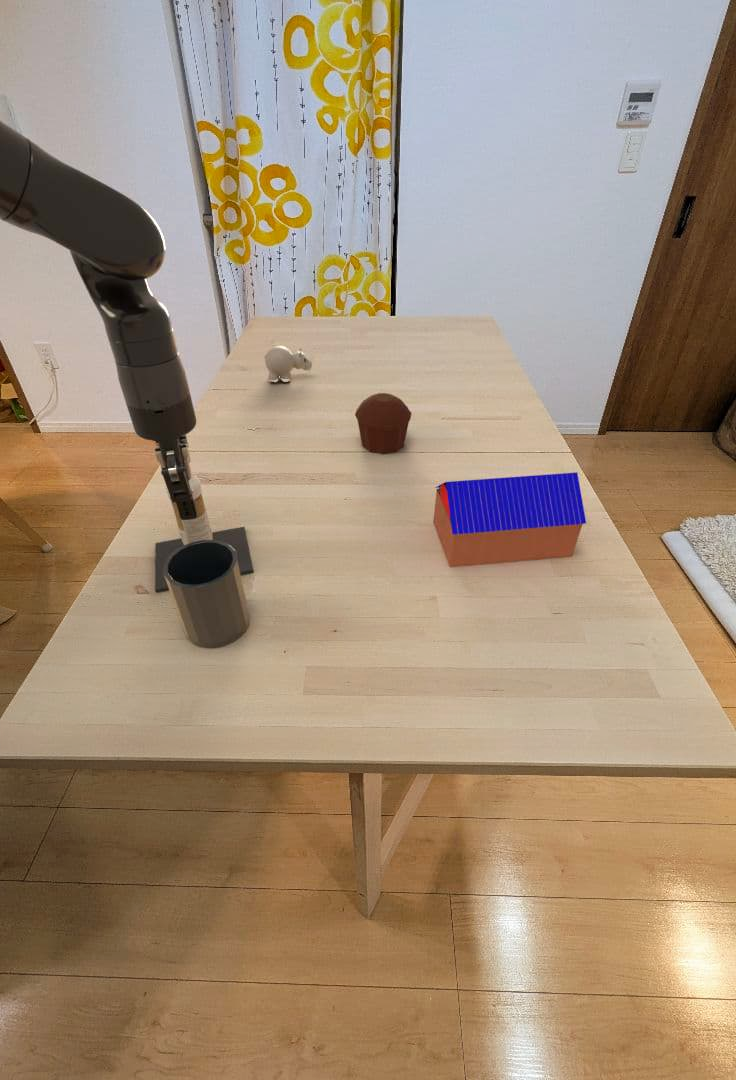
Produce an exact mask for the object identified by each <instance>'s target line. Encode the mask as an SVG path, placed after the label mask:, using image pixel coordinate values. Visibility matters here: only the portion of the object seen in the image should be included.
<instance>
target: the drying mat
mask: <svg viewBox="0 0 736 1080" xmlns="http://www.w3.org/2000/svg"><path fill="white" fill-rule="evenodd" d="M212 536H213V537H212V538H213V540H218V541H221V542H224V543H226V544H229V545H230V546H231V547H232V548H233V549H234V550H235V551H236V555H237V560H238V564H239V569H240V573H241V576H242V575H248V574H253V573H254V567H253V562H252V557H251V552H250V547H249V543H248V537H247V533H246V528H245V526H241V527H235V528H229V529H224V530H218V531H213V532H212ZM154 545H155V546H154V547H155V548H154V552H155V553H154V554H155V555H154V591H155V593H160V592H165V591H169V588H168V585H167V582H166V579H165V576H164V564H165V562H166V560H167V559H168V557H169V556H170V555H171V554H172V553H173V552H175V551H176V550H177V549H178V548H180V547H182V546H184V544H183V542H182V538H181V537H180V538H174V539H169V540H164V541H158V542H155V544H154Z"/></svg>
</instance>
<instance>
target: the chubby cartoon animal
mask: <svg viewBox="0 0 736 1080" xmlns="http://www.w3.org/2000/svg"><path fill="white" fill-rule="evenodd" d="M313 362H314V358H313V357H312V355H310V358H309V357H308V358H307V356H306V354H305V353H304V352H303V351H302V348H301V347H300V348H299V349H298V350H297V351H296V352H294V353H293V352H291V350H290V349H288V348H287V347H286V346H283V345H274V346H273V347H271V348H269V349H268V351H267V352H266V353H265V354H264V363H265V367H266V369H267V370H268V372H269V375H268V380H269V379H270V380H276V379H278V378H279V376H280V378H282V379H289V378H290V377H291V372H292V371H293V369H296V370H301V369H302V370H304V371H310V370H311V369H312V367H313Z"/></svg>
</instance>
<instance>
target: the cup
mask: <svg viewBox="0 0 736 1080" xmlns="http://www.w3.org/2000/svg"><path fill="white" fill-rule="evenodd" d="M164 576H165V579H166V582H167V585H168V588H169V590H168V591H169V593H170V596H171V599H172V601H173V605H174V608H175V610H176V613H177V616H178V619H179V622H180V625H181V628H182V631H183V632H184V634H185V636H186V639H187V640H188V641H189V642H190V643H191V644H193V645H195V646H197V647H199V648H204V649H205V648H206V649H216V648H222V647H224V646H227V645H229V644H232V643H234V642H235V641H237V640H239V638H240V637H242V636H243V635H244V634H245V632H246V631H247V629H248V628H249V625H250V621H251V616H250V615H251V614H250V611H249V606H248V605H249V604H248V600H247V595H246V592H245V587H244V583H243V579H242V575H241V573H240V569H239V564H238V560H237V555H236V551H235V550H234V549H233V548H232V547H231V546H230V545H229V544H226V543H224V542H221V541H218V540H201V541H196V542H191V543H189V544H187V545H185V546H182V547H180V548H178V549H177V550H176V551H175V552H173V553H172V554H171V555H170V556H169V557H168V559H167V560H166V562H165V564H164Z"/></svg>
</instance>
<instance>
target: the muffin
mask: <svg viewBox="0 0 736 1080" xmlns="http://www.w3.org/2000/svg"><path fill="white" fill-rule="evenodd" d="M354 416H355V418H356V420H357V425H358V426H357V427H358V431H359V436H360V441H361V447H363V448H364V449H366V450H367V451H368V450H369V451H368V452H370V453H376V454H381V455H385V454H392V453H397V452H398V451H399V450H401V449H402V448H404V447H405V442H406V438H407V437H406V436H407V432H408V429H409V424H410V423H409V422H410V421H411V418H412V412H411V410H410V409H409V407H408V406H407V405H406V404H405V403H404V401H403V400H402V399H401V398H400V397H397V396H396V395H394V394H391V393H387V392H378V393H373V394H372V395H370V396H368V397H367V398H365V399H364V400H362V402H360V404H359V405H358V407H357V408H356V410H355V412H354Z"/></svg>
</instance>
